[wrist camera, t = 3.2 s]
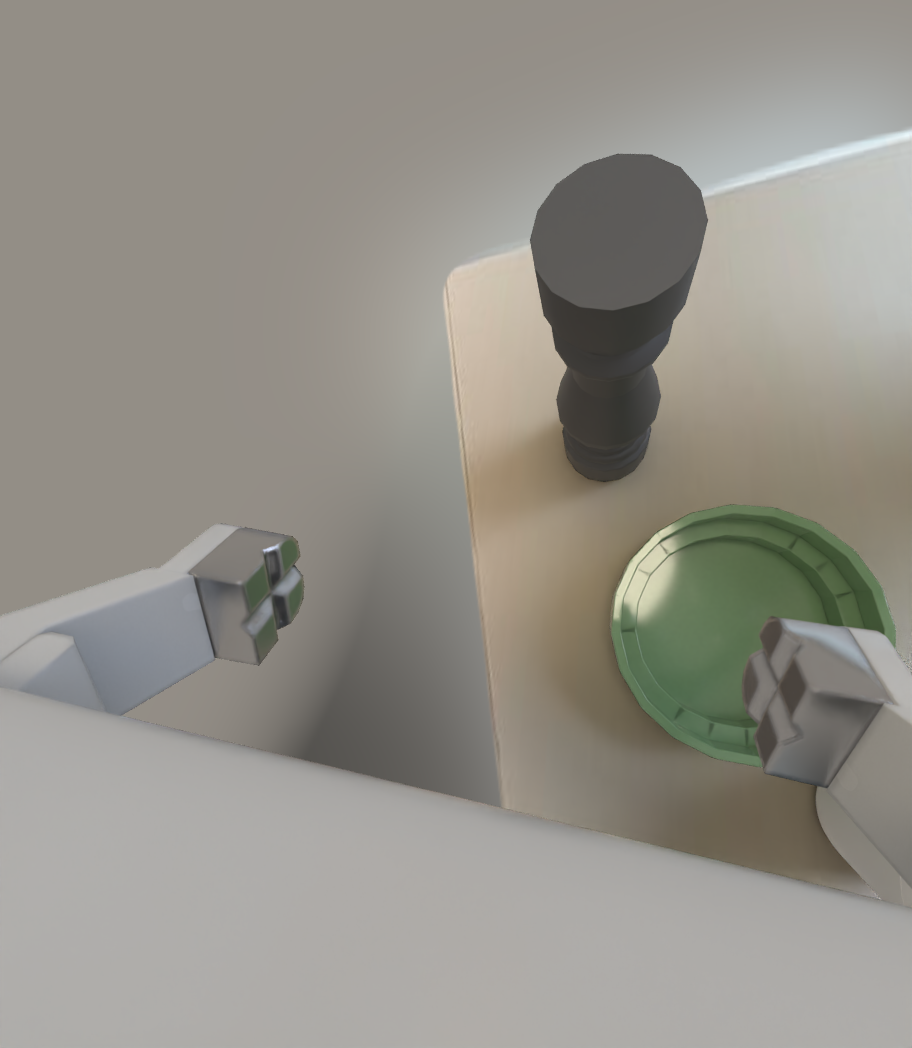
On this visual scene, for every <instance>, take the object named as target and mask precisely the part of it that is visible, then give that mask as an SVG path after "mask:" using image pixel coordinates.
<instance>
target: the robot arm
mask: <svg viewBox="0 0 912 1048" xmlns="http://www.w3.org/2000/svg"><path fill="white" fill-rule="evenodd" d="M299 557H300V551H299V545H298V541H297V540H296V539H295V538H294V537H293V536H289V535H284V534H278V533H273V532H268V531H262V530H257V529H252V528H246V527H245V528H243V527H241V526H234V525H228V524H222V523H221V524H214V525H212V526H211V527H210V528H208V529H207V530H206V531H205V532H203V533H202V534H201V535H200V536H198V537H197V538H196V539H195V540H193V541H192V542H191V543H190V544H188V545H187V546H186V547H185V548H183V549H182V550H181V551H180V552H178V553H177V554H176V555H175V556H173V557H172V558H171V559H170V560H168V561H167V562H166V563H165V564H163V565H162V566H161V567H160V568H158V569H157V568H151V567H150V568H147V569H144V570H140V571H138V572H134V573H131V574H128V575H125V576H122V577H119V578H116V579H112V580H109V581H106V582H103V583H100V584H97V585H94V586H91V587H88V588H84V589H81V590H78V591H75V592H72V593H69V594H66V595H63V596H60V597H56V598H54V599H50V600H47V601H44V602H41V603H38V604H35V605H32V606H28V607H25V608H22V609H19V610H16V611H13V612H10V613H7V614H4V615H1V616H0V1048H912V907H908V906H904V905H900V904H896V903H892V902H887V901H883V900H879V899H875V898H871V897H867V896H863V895H859V894H855V893H850V892H846V891H842V890H838V889H834V888H830V887H826V886H822V885H818V884H813V883H809V882H805V881H801V880H797V879H793V878H789V877H785V876H781V875H776V874H772V873H768V872H764V871H760V870H756V869H752V868H748V867H743V866H739V865H735V864H731V863H727V862H723V861H719V860H715V859H710V858H706V857H702V856H698V855H694V854H690V853H686V852H682V851H678V850H673V849H669V848H665V847H661V846H657V845H653V844H649V843H645V842H640V841H636V840H632V839H628V838H624V837H620V836H616V835H612V834H607V833H603V832H599V831H595V830H591V829H587V828H583V827H579V826H574V825H570V824H566V823H562V822H558V821H554V820H550V819H546V818H541V817H537V816H533V815H529V814H525V813H521V812H517V811H513V810H508V809H504V808H500V807H496V806H492V805H488V804H484V803H480V802H476V801H471V800H467V799H463V798H459V797H454V796H451V795H446V794H443V793H438V792H434V791H430V790H426V789H422V788H418V787H413V786H409V785H405V784H401V783H397V782H393V781H389V780H385V779H381V778H377V777H372V776H368V775H364V774H360V773H356V772H352V771H348V770H344V769H339V768H335V767H331V766H327V765H323V764H319V763H315V762H311V761H306V760H302V759H298V758H294V757H290V756H286V755H282V754H277V753H273V752H269V751H265V750H261V749H257V748H253V747H249V746H245V745H241V744H236V743H232V742H228V741H224V740H220V739H215V738H212V737H207V736H203V735H199V734H195V733H191V732H187V731H183V730H178V729H175V728H170V727H166V726H162V725H158V724H154V723H149V722H145V721H141V720H137V719H133V718H129V717H125V716H121V715H123V714H125V713H126V712H128V711H130V710H132V709H133V708H135V707H137V706H138V705H140V704H142V703H143V702H145V701H147V700H148V699H150V698H152V697H153V696H155V695H157V694H159V693H160V692H162V691H164V690H165V689H167V688H169V687H170V686H172V685H174V684H176V683H177V682H179V681H180V680H182V679H184V678H186V677H187V676H189V675H191V674H192V673H194V672H196V671H197V670H199V669H201V668H202V667H204V666H206V665H208V664H209V663H211V662H213V661H214V660H215V658H220V659H225V660H230V661H236V662H242V663H247V664H253V665H258V666H259V665H260V664H261V662H262V661H263V660H264V659H265V657H266V656H267V654H268V653H269V652H270V651H271V649H272V648H273V647H274V645H275V644H276V643H277V641H278V635H277V630H278V629H280V628H283V627H285V626H287V625H289V624H290V623H291V622H292V621H293V620H294V618H295V617H296V615H297V614H298V612H299V609H300V606H301V604H302V601H303V595H304V580H303V575H302V574H301V573H300V571H299V570H298V569H297V568H296V566H295V565H294V564H295V563H296V561H297V560H298V559H299ZM759 638H760V640H761V643H762V646H763V648H761V649H760V650H758V651H756V652H754V653H753V654H751V655H749V658H748V660H747V663H746V665H745V668H744V670H743V678H742V686H741V689H742V700H743V703H744V707H745V711H746V713H747V714H748V715H749V716H750V717H751V718H752V719H753V720H754V721H755V722H756V723H757V724H758V727H757V729H756V731H755V733H754V735H753V738H754V741H755V744H756V747H757V751H758V754H759V757H760V760H761V764H762V767H763V770H764V773H765V774H769V775H773V776H777V777H782V778H786V779H790V780H794V781H798V782H803V783H807V784H811V785H815V786H819V787H823V788H827V790H826V791H827V793H828V794H829V795H830V796H831V797H832V798H833V799H834V801H835V802H836V803H837V804H838V805H839V806H840V807H841V809H842V810H843V811H844V812H845V813H846V814H847V815H848V817H849V818H850V819H851V820H852V821H853V822H854V823H855V825H856V826H857V827H858V828H859V829H860V830H861V831H862V833H863V834H864V835H865V836H866V837H867V838H868V839H869V841H870V842H871V843H872V844H873V845H874V846H875V847H876V849H877V850H878V851H879V852H880V853H881V854H882V855H883V857H884V858H885V859H886V860H887V861H888V862H889V863H890V865H891V866H892V867H893V868H894V869H895V870H896V871H897V873H898V874H899V875H900V876H901V877H902V878H903V879H904V881H905V882H906V883H907V884H908V885H909V886H910V887H911V889H912V673H911V671H910V670H909V668H908V667H907V666H906V664H905V663H904V661H903V660H902V658H901V657H900V655H899V654H898V653H897V651H896V650H895V648H894V647H893V645H892V644H891V642H890V641H889V639H888V638H887V637H886V636H885V635H883V634H882V633H880V632H878V631H874V630H867V629H860V628H852V627H845V626H840V627H839V626H833V625H826V624H820V623H813V622H807V621H801V620H794V619H788V618H781V617H775V616H770V617H769V618H768V619H767V620H766V621H765V622H764V624H763V626H762V628H761V631H760V633H759Z"/></svg>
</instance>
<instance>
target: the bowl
mask: <svg viewBox="0 0 912 1048" xmlns="http://www.w3.org/2000/svg"><path fill="white" fill-rule="evenodd" d="M770 616H775V617H781V618H788V619H794V620H801V621H807V622H813V623H820V624H826V625H833V626H839V627H840V626H845V627H852V628H860V629H867V630H874V631H878V632H880V633H882V634H883V635H885V636H886V637H887V638H888V639H889V641H890V642H891V644H892V645H893V647H894V648H895V643H896V630H895V629H896V628H895V625H894V622H893V619H892V616H891V613H890V610H889V607H888V604H887V601H886V597H885V594H884V591H883V588H882V587H881V585H880V584H879V582H878V581H877V580H876V578H875V577H874V576H873V574H872V573H871V572H870V570H869V569H868V568H867V566H866V565H865V563H864V562H863V561H862V559H861V558H860V557H859V555H858V554H857V553H856V551H854V550H853V549H852V548H851V547H849V546H848V545H847V544H845V543H844V542H843V541H841V540H840V539H839V538H837V537H836V536H834V535H833V534H832V533H830V532H829V531H828V530H826V529H825V528H824V527H822V526H821V525H819V524H817V523H816V522H813V521H810V520H808V519H805V518H802V517H799V516H797V515H794V514H791V513H789V512H786V511H783V510H780V509H778V508H773V507H760V506H747V505H734V504H733V505H726V506H721V507H717V508H712V509H707V510H702V511H698V512H693V513H690V514H688V515H686V516H684V517H683V518H681V519H679V520H677V521H675V522H674V523H672V524H670V525H668V526H666V527H665V528H663V529H661V530H659V531H657V532H656V533H655V534H654V535H653V536H652V537H651V538H650V539H649V540H648V541H647V542H646V544H645V545H644V546H643V547H642V548H641V549H640V550H639V551H638V552H637V553H636V554H635V555H634V556H633V557H632V559H631V560H630V561H629V562H628V563H627V565H626V566H625V569H624V571H623V573H622V575H621V578H620V580H619V582H618V584H617V586H616V589H615V591H614V593H613V596H612V607H611V617H610V634H611V638H612V642H613V647H614V651H615V655H616V660H617V664H618V667H619V670H620V672H621V674H622V676H623V678H624V679H625V681H626V683H627V684H628V686H629V688H630V690H631V691H632V693H633V695H634V696H635V698H636V700H637V702H638V703H639V705H640V707H641V708H642V709H643V710H644V711H645V712H646V713H647V714H648V715H650V716H651V717H652V718H653V719H654V720H655V721H656V722H657V723H658V724H659V725H660V726H661V727H662V728H663V729H664V730H665V731H666V732H668V733H669V734H670V735H671V736H672V737H674V738H675V739H677V740H679V741H681V742H683V743H685V744H687V745H688V746H690V747H692V748H694V749H696V750H698V751H700V752H702V753H704V754H706V755H708V756H710V757H712V758H715V759H719V760H724V761H729V762H735V763H740V764H745V765H750V766H755V767H762V764H761V760H760V757H759V754H758V751H757V747H756V744H755V741H754V738H753V735H754V733H755V731H756V729H757V727H758V724H757V723H756V722H755V721H754V720H753V719H752V718H751V717H750V716H749V715H748V714H747V713H746V711H745V707H744V703H743V700H742V689H741V686H742V678H743V670H744V668H745V665H746V663H747V660H748V658H749V655H751V654H753V653H754V652H756V651H758V650H760V649H761V648H763V646H762V643H761V640H760V638H759V633H760V631H761V628H762V626H763V624H764V622H765V621H766V620H767V619H768V618H769V617H770Z"/></svg>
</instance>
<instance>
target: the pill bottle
mask: <svg viewBox="0 0 912 1048" xmlns="http://www.w3.org/2000/svg"><path fill="white" fill-rule="evenodd" d="M826 790H827V788H823V787H819V786H817V791H816V808H817V813H818V817H819V820H820V823H821V826H822V828H823V830H824V832H825V834H826V835H827V837H828V839H829V840H830V842H831V843H832V845H833V846H834V848H835V849H836V850H837V851H838V852H839V854H840V855H841V856H842V857H843V858H844V859H845V860H846V861H847V862H848V863H849V864H850V866H851V867H852V868H853V869H854V870H855V871H856V872H857V873H858V874H859V875H860V876H861V877H862V879H863V880H864V881H865V882H866V883H867V884H868V885H869V886H870V887H871V888H872V889H873V891H874V892H875V893H876V894H877V895H878V896H879V897H880V898H881V899H882V900H883V901H887V902H892V903H896V904H900V905H904V906H908V907H912V889H911V887H910V886H909V885H908V884H907V883H906V882H905V881H904V879H903V878H902V877H901V876H900V875H899V874H898V873H897V871H896V870H895V869H894V868H893V867H892V866H891V865H890V863H889V862H888V861H887V860H886V859H885V858H884V857H883V855H882V854H881V853H880V852H879V851H878V850H877V849H876V847H875V846H874V845H873V844H872V843H871V842H870V841H869V839H868V838H867V837H866V836H865V835H864V834H863V833H862V831H861V830H860V829H859V828H858V827H857V826H856V825H855V823H854V822H853V821H852V820H851V819H850V818H849V817H848V815H847V814H846V813H845V812H844V811H843V810H842V809H841V807H840V806H839V805H838V804H837V803H836V802H835V801H834V799H833V798H832V797H831V796H830V795H829V794H828V793H827V791H826Z"/></svg>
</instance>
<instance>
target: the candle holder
mask: <svg viewBox="0 0 912 1048" xmlns="http://www.w3.org/2000/svg"><path fill="white" fill-rule="evenodd" d="M707 222H708V219H707V214H706V210H705V206H704V202H703V198H702V193H701V190H700V189H699V188H698V187H697V185H696V184H695V183H694V182H693V181H692V180H691V179H690V177H689V176H688V175H687V174H686V173H685V172H684V171H683V169H682V168H681V167H679V166H676V165H674V164H672V163H669V162H667V161H665V160H662V159H660V158H658V157H655V156H653V155H645V154H644V155H643V154H616V155H612V156H609V157H606V158H603V159H599V160H596V161H593V162H590V163H587V164H584V165H583V166H582V167H580V168H578V169H577V170H576V171H574V172H573V173H572V174H570V175H569V176H567V177H566V178H565V179H563V180H562V181H560V182H559V183H558V184H556V186H555V187H554V189H553V190H552V191H551V193H550V194H549V196H548V197H547V198H546V200H545V201H544V203H543V204H542V205H541V207H540V208H539V209H538V211H537V215H536V219H535V223H534V227H533V231H532V234H531V238H530V243H531V249H532V254H533V260H534V266H535V272H536V277H537V282H538V288H539V293H540V298H541V303H542V309H543V314H544V316H545V318H546V319H547V321H548V322H549V323H550V325H551V326H552V332H553V338H554V344H555V349H556V351H557V352H558V354H559V355H560V357H561V358H562V360H563V361H564V362H565V364H566V365H567V370H566V372H565V374H564V376H563V378H562V380H561V383H560V387H559V391H558V395H557V399H556V400H557V406H558V412H559V418H560V421H561V423H562V424H563V426H564V427H563V431H562V432H563V438H564V443H565V449H566V453H567V458H568V460H569V461H570V463H571V464H572V466H573V467H574V469H575V470H576V471H577V472H579V473H581V474H582V475H584V476H585V477H587V478H588V479H592V480H598V481H603V482H606V481H611V480H617V479H621V478H622V477H624V476H626V475H627V474H629V473H631V472H632V471H634V470H635V468H636V467H637V466H638V464H639V463H640V462H641V460H642V459H643V458H644V455H645V452H646V448H647V445H648V441H649V437H650V432H651V426H650V425H651V424H652V423H653V421H654V420H655V418H656V415H657V411H658V406H659V402H660V398H661V394H660V390H659V385H658V380H657V376H656V374H655V371H654V369H653V366H652V364H653V363H654V361H655V360H656V359H657V357H658V356H659V355H660V353H661V352H662V350H663V349H664V348H665V346H666V345H667V344H668V341H669V337H670V333H671V328H672V324H673V320H674V319H675V318H676V316H677V315H678V314H679V312H680V311H681V310H682V308H683V307H684V305H685V303H686V300H687V296H688V293H689V289H690V286H691V283H692V279H693V276H694V272H695V269H696V266H697V262H698V259H699V255H700V252H701V248H702V243H703V239H704V235H705V231H706V226H707Z"/></svg>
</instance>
